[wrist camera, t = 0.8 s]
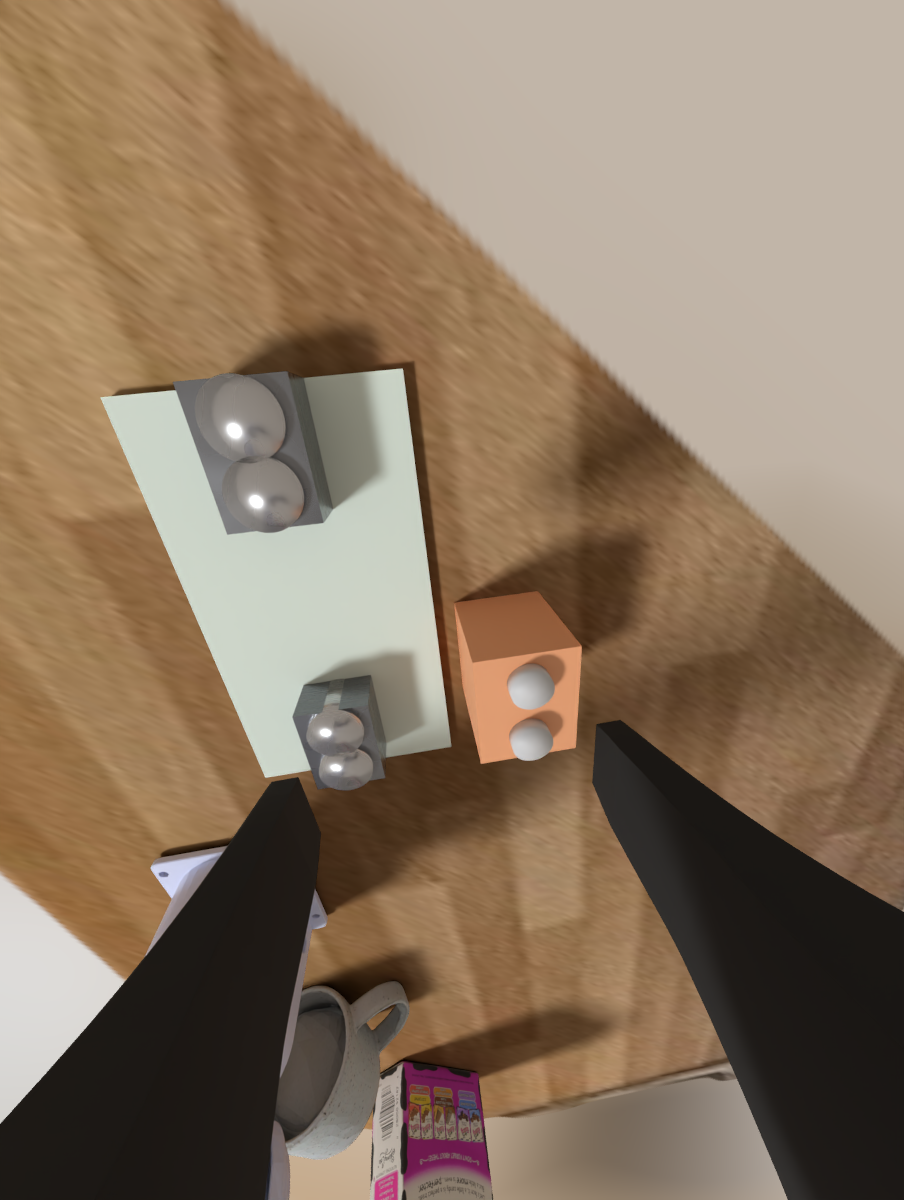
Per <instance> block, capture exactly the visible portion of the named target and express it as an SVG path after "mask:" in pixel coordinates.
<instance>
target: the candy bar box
mask: <svg viewBox="0 0 904 1200" xmlns="http://www.w3.org/2000/svg"><path fill="white" fill-rule="evenodd" d="M370 1200H493V1194H492V1186H491V1176H490V1169H489V1161H488V1152H487V1145H486V1136H485V1127H484V1118H483V1110H482V1102H481V1094H480V1085H479V1077H478V1073H476V1072H470V1071H465V1070H459V1069H453V1068H447V1067H440V1066H434V1065H427V1064H421V1063H414V1062H408V1061H402V1062H400V1063H399V1064H397V1065H395V1066H393V1067H392V1068H390V1069H388V1070H387V1071H385V1072H384V1073H382V1074H380V1080H379V1087H378V1092H377V1097H376V1101H375V1104H374V1108H373V1131H372V1158H371V1188H370Z"/></svg>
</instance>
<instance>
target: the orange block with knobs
mask: <svg viewBox="0 0 904 1200" xmlns="http://www.w3.org/2000/svg"><path fill="white" fill-rule="evenodd" d="M454 604H455V614H456V624H457V634H458V644H459V653H460V663H461V673H462V683H463V690H464V694H465V698H466V703H467V707H468V711H469V715H470V719H471V724H472V728H473V732H474V736H475V740H476V744H477V749H478V753H479V757H480V761H481V764H484V763H489V762H495V761H501V760H507V759H513V758H519V759H522V760H526V761H532V760H537V759H540V758H542V757H544V756H545V755H546V754H548V753H549V752H554V751H560V750H565V749H571V748H576V735H577V718H578V702H579V686H580V669H581V653H582V646H581V644H580V643H579V642H578V641H577V639H576V638H575V637H574V636H573V634H572V633H571V632H570V631H569V629H568V628H567V627H566V626H565V624H564V623H563V622H562V621H561V619H560V618H559V617H558V616H557V614H556V613H555V612H554V611H553V609H552V608H551V607H550V606H549V604H548V603H547V602H546V601H545V599H544V598H543V597H542V596H541V594H540V593H539V592H538V591H534V592H527V593H520V594H512V595H505V596H498V597H491V598H484V599H477V600H470V601H462V602H455V603H454Z"/></svg>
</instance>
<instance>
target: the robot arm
mask: <svg viewBox="0 0 904 1200" xmlns="http://www.w3.org/2000/svg"><path fill="white" fill-rule="evenodd" d="M592 783H593V785H594V787H595V790H596V792H597V795H598V797H599V800H600V802H601V805H602V807H603V809H604V811H605V814H606V816H607V818H608V821H609V823H610V825H611V827H612V829H613V831H614V833H615V835H616V837H617V838H618V840H619V842H620V844H621V846H622V847H623V849H624V851H625V853H626V855H627V857H628V858H629V860H630V862H631V864H632V866H633V868H634V869H635V871H636V873H637V875H638V877H639V878H640V880H641V882H642V884H643V886H644V887H645V889H646V891H647V893H648V895H649V896H650V898H651V900H652V902H653V904H654V905H655V907H656V909H657V911H658V913H659V914H660V916H661V918H662V920H663V922H664V924H665V925H666V927H667V929H668V931H669V933H670V935H671V937H672V938H673V940H674V942H675V944H676V946H677V948H678V950H679V952H680V954H681V956H682V958H683V960H684V962H685V964H686V967H687V969H688V971H689V973H690V975H691V977H692V980H693V982H694V984H695V986H696V988H697V991H698V993H699V995H700V997H701V999H702V1001H703V1004H704V1006H705V1008H706V1010H707V1012H708V1014H709V1017H710V1019H711V1021H712V1023H713V1026H714V1028H715V1030H716V1032H717V1035H718V1037H719V1039H720V1041H721V1044H722V1046H723V1048H724V1050H725V1053H726V1055H727V1057H728V1059H729V1062H730V1064H731V1066H732V1068H733V1071H734V1073H735V1075H736V1077H737V1080H738V1082H739V1084H740V1086H741V1089H742V1091H743V1093H744V1096H745V1098H746V1101H747V1103H748V1105H749V1107H750V1110H751V1112H752V1115H753V1117H754V1119H755V1122H756V1124H757V1126H758V1129H759V1131H760V1133H761V1136H762V1138H763V1141H764V1143H765V1145H766V1148H767V1150H768V1152H769V1155H770V1157H771V1160H772V1162H773V1164H774V1166H775V1169H776V1171H777V1174H778V1176H779V1179H780V1181H781V1183H782V1186H783V1188H784V1191H785V1194H786V1196H787V1198H788V1200H904V912H903V911H901V910H899V909H897V908H896V907H894V906H892V905H890V904H888V903H887V902H885V901H883V900H881V899H879V898H878V897H876V896H874V895H872V894H871V893H869V892H867V891H865V890H864V889H862V888H860V887H859V886H857V885H855V884H853V883H852V882H850V881H848V880H847V879H845V878H843V877H842V876H840V875H838V874H837V873H835V872H834V871H832V870H830V869H829V868H827V867H825V866H824V865H822V864H821V863H819V862H817V861H816V860H814V859H812V858H811V857H809V856H808V855H806V854H804V853H803V852H801V851H800V850H798V849H796V848H795V847H793V846H792V845H790V844H789V843H787V842H785V841H784V840H782V839H781V838H779V837H778V836H776V835H775V834H773V833H772V832H770V831H769V830H767V829H766V828H764V827H763V826H761V825H760V824H758V823H757V822H756V821H754V820H753V819H751V818H750V817H748V816H747V815H745V814H744V813H742V812H741V811H739V810H738V809H737V808H735V807H734V806H732V805H731V804H730V803H728V802H727V801H726V800H724V799H723V798H721V797H720V796H719V795H717V794H716V793H715V792H713V791H712V790H711V789H709V788H708V787H706V786H705V785H704V784H702V783H701V782H700V781H698V780H697V779H696V778H694V777H693V776H692V775H690V774H689V773H688V772H686V771H685V770H684V769H682V768H681V767H680V766H679V765H677V764H676V763H675V762H673V761H672V760H671V759H670V758H668V757H667V756H666V755H664V754H663V753H662V752H661V751H659V750H658V749H657V748H656V747H654V746H653V745H652V744H650V743H649V742H648V741H647V740H645V739H644V738H643V737H642V736H640V735H639V734H638V733H637V732H635V731H634V730H633V729H631V728H630V727H629V726H628V725H626V724H625V723H624V722H622V721H621V720H618V721H612V722H606V723H601V724H597V725H596V739H595V753H594V767H593V781H592ZM320 838H321V832H320V830H319V827H318V825H317V822H316V820H315V817H314V815H313V812H312V810H311V807H310V805H309V802H308V800H307V797H306V795H305V793H304V790H303V788H302V785H301V783H300V780H299V778H298V777H297V778H291V779H286V780H280V781H275V782H271V784H270V785H269V786H268V788H267V789H266V790H265V792H264V793H263V795H262V796H261V798H260V799H259V801H258V802H257V804H256V805H255V807H254V808H253V809H252V811H251V812H250V814H249V815H248V817H247V818H246V820H245V821H244V823H243V824H242V826H241V827H240V829H239V830H238V831H237V833H236V834H235V836H234V837H233V839H232V840H231V842H230V843H229V844H228V846H223V847H218V848H212V849H206V850H201V851H195V852H190V853H184V854H178V855H173V856H167V857H161V858H158V859H156V860H155V861H154V862H153V864H152V866H151V870H152V872H153V873H154V875H155V876H156V877H157V879H158V880H159V882H160V883H161V884H162V886H163V887H164V888H165V890H166V891H167V893H168V894H169V895H170V897H171V898H172V900H171V902H170V904H169V906H168V908H167V911H166V913H165V915H164V917H163V919H162V921H161V923H160V926H159V928H158V930H157V932H156V934H155V936H154V938H153V940H152V943H151V945H150V947H149V949H148V951H147V953H146V955H145V957H144V959H143V960H142V961H141V962H140V964H139V965H138V966H137V967H136V969H135V970H134V971H133V972H132V974H131V975H130V976H129V977H128V979H127V980H126V981H125V982H124V983H123V985H122V986H121V987H120V988H119V990H118V991H117V992H116V993H115V994H114V995H113V997H112V998H111V999H110V1000H109V1001H108V1003H107V1004H106V1005H105V1006H104V1007H103V1009H102V1010H101V1011H100V1012H99V1013H98V1015H97V1016H96V1017H95V1018H94V1019H93V1020H92V1022H91V1023H90V1024H89V1025H88V1026H87V1028H86V1029H85V1030H84V1031H83V1032H82V1033H81V1034H80V1036H79V1037H78V1038H77V1039H76V1040H75V1041H74V1042H73V1043H72V1045H71V1046H70V1047H69V1048H68V1049H67V1050H66V1051H65V1053H64V1054H63V1055H62V1056H61V1057H60V1058H59V1059H58V1060H57V1062H56V1063H55V1064H54V1065H53V1066H52V1067H51V1068H50V1069H49V1071H48V1072H47V1073H46V1074H45V1075H44V1076H43V1077H42V1078H41V1080H40V1081H39V1082H38V1083H37V1084H36V1085H35V1086H34V1087H33V1088H32V1090H31V1091H30V1092H29V1093H28V1094H27V1095H26V1096H25V1097H24V1098H23V1099H22V1101H21V1102H20V1103H19V1104H18V1105H17V1106H16V1107H15V1108H14V1109H13V1110H12V1112H11V1113H10V1114H9V1115H8V1116H7V1117H6V1118H5V1119H4V1121H3V1122H2V1123H1V1124H0V1200H289V1193H290V1164H289V1155H288V1151H287V1147H286V1144H285V1138H284V1134H283V1130H282V1127H281V1126H280V1124H279V1123H278V1122H276V1121H274V1117H275V1109H276V1102H277V1094H278V1086H279V1079H280V1078H281V1076H282V1074H283V1071H284V1069H285V1066H286V1064H287V1062H288V1059H289V1056H290V1052H291V1049H292V1045H293V1040H294V1034H295V1028H296V1022H297V1016H298V1010H299V1004H300V999H301V993H302V987H303V981H304V975H305V969H306V963H307V957H308V951H309V945H310V939H311V933H312V929H317V928H322V927H324V926H325V925H326V924H327V915H326V913H325V910H324V908H323V906H322V903H321V901H320V899H319V896H318V894H317V892H316V889H315V886H316V879H317V870H318V861H319V849H320Z"/></svg>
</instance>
